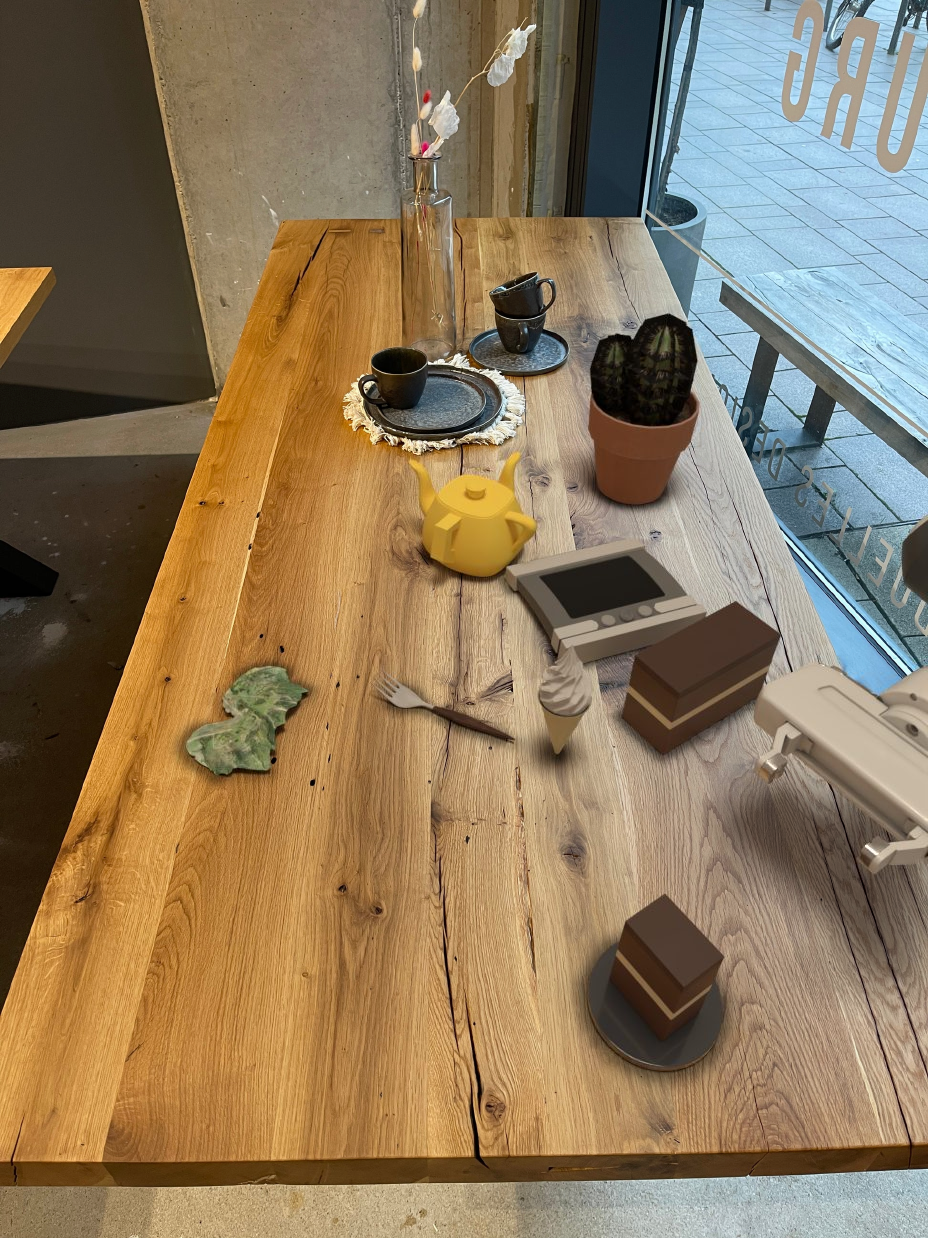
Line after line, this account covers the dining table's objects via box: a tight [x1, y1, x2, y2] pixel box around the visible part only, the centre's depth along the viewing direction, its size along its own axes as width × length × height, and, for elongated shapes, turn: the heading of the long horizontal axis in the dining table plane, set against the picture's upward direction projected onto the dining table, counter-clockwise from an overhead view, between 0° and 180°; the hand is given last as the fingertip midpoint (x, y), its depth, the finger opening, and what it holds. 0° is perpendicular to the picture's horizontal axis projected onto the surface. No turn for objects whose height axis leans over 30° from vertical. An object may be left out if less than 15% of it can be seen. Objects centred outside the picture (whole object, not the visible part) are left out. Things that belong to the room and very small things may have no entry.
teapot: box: [408, 451, 538, 578], centre depth 109 cm, size 14×13×10 cm
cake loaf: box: [621, 600, 782, 755], centre depth 91 cm, size 14×6×9 cm, turn 125°
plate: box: [587, 940, 724, 1072], centre depth 71 cm, size 10×10×1 cm
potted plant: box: [587, 312, 701, 505], centre depth 115 cm, size 14×14×25 cm
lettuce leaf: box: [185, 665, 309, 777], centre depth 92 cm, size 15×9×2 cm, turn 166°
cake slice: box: [609, 893, 725, 1042], centre depth 68 cm, size 4×6×9 cm, turn 35°
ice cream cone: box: [537, 645, 593, 755], centre depth 85 cm, size 5×5×15 cm
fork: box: [369, 667, 516, 741], centre depth 92 cm, size 3×16×2 cm, turn 63°
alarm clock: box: [505, 536, 708, 664], centre depth 105 cm, size 17×5×16 cm
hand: (812, 815), depth 66 cm, fingers open, 8 cm apart
